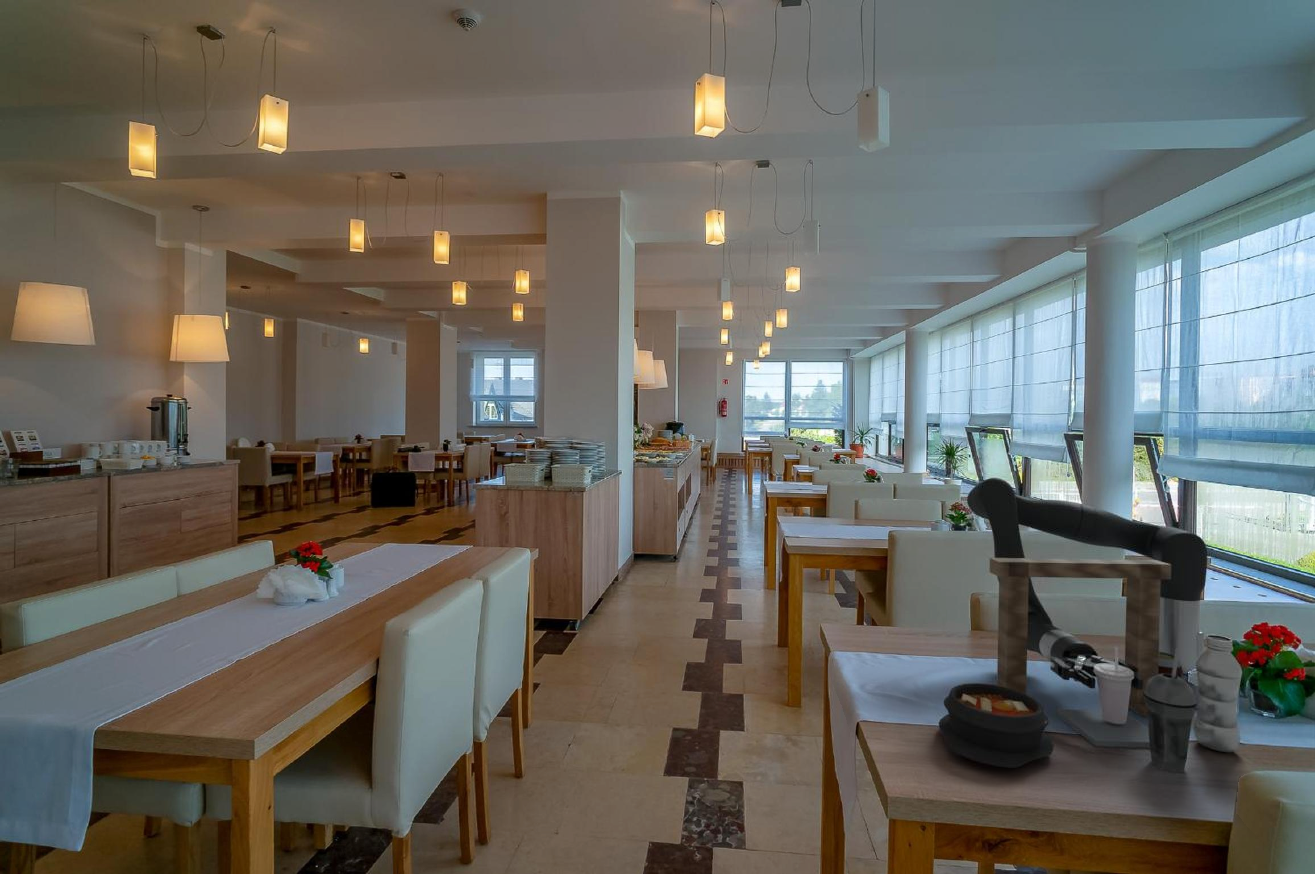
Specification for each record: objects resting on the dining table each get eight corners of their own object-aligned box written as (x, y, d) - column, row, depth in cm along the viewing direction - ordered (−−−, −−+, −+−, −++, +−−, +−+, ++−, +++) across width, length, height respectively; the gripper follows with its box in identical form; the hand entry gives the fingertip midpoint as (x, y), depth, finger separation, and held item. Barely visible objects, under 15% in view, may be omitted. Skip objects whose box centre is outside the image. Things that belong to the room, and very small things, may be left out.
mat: (1122, 715, 132) (1122, 710, 132) (1169, 748, 119) (1170, 742, 119) (1055, 714, 132) (1055, 709, 132) (1095, 746, 119) (1095, 740, 119)
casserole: (1040, 792, 105) (1041, 740, 104) (919, 755, 116) (920, 707, 116) (1063, 734, 124) (1064, 690, 124) (958, 707, 136) (958, 666, 135)
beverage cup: (1130, 755, 116) (1133, 642, 116) (1169, 753, 117) (1172, 641, 116) (1166, 777, 109) (1169, 657, 108) (1207, 775, 110) (1210, 656, 109)
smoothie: (1141, 728, 122) (1140, 653, 122) (1103, 726, 124) (1101, 652, 123) (1125, 712, 129) (1123, 641, 128) (1088, 710, 130) (1086, 640, 130)
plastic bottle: (1228, 742, 121) (1231, 634, 121) (1247, 760, 115) (1251, 645, 114) (1186, 736, 123) (1189, 630, 123) (1202, 753, 117) (1205, 641, 116)
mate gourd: (1169, 686, 147) (1170, 619, 147) (1192, 701, 139) (1194, 630, 139) (1132, 684, 148) (1134, 617, 148) (1153, 698, 140) (1155, 628, 140)
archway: (1143, 697, 141) (1147, 557, 140) (1178, 718, 131) (1182, 567, 130) (980, 693, 142) (983, 554, 142) (1002, 713, 132) (1005, 565, 132)
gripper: (1033, 634, 140) (1078, 663, 124) (1102, 636, 139) (1157, 665, 123) (1032, 669, 140) (1077, 703, 124) (1101, 671, 140) (1156, 704, 123)
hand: (1117, 684), depth 124 cm, fingers open, 8 cm apart
